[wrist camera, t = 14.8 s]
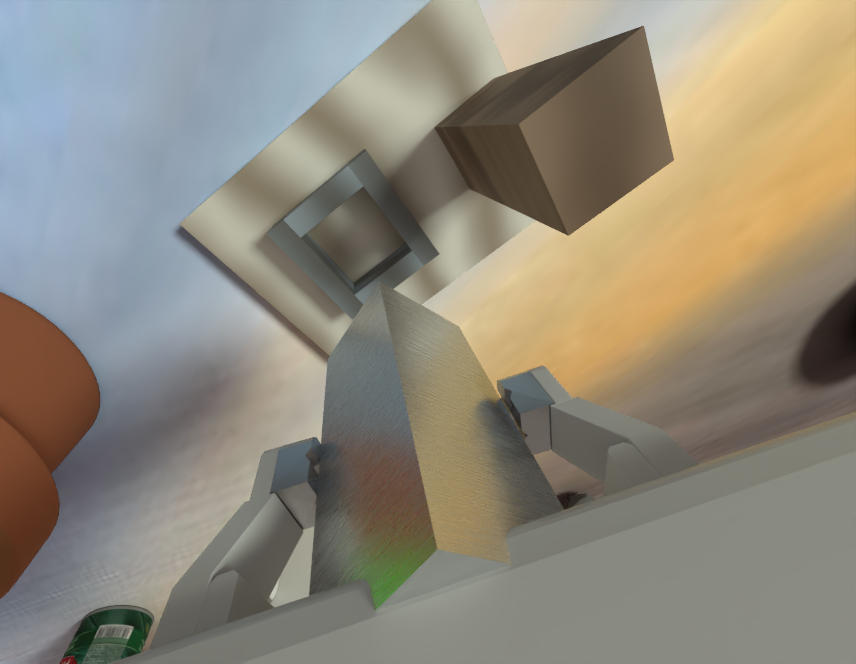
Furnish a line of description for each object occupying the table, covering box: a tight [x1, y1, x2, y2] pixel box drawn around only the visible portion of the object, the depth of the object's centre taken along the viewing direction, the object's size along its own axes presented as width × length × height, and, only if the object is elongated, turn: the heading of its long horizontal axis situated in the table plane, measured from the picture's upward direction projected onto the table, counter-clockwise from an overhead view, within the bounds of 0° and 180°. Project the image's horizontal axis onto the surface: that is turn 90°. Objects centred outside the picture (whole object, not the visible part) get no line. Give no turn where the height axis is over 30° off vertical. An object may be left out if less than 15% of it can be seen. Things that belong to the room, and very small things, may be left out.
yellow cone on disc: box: [565, 493, 595, 510], centre depth 50 cm, size 5×5×10 cm
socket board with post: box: [180, 0, 674, 356], centre depth 21 cm, size 24×16×16 cm, turn 125°
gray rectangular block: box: [309, 281, 564, 611], centre depth 10 cm, size 4×4×10 cm
